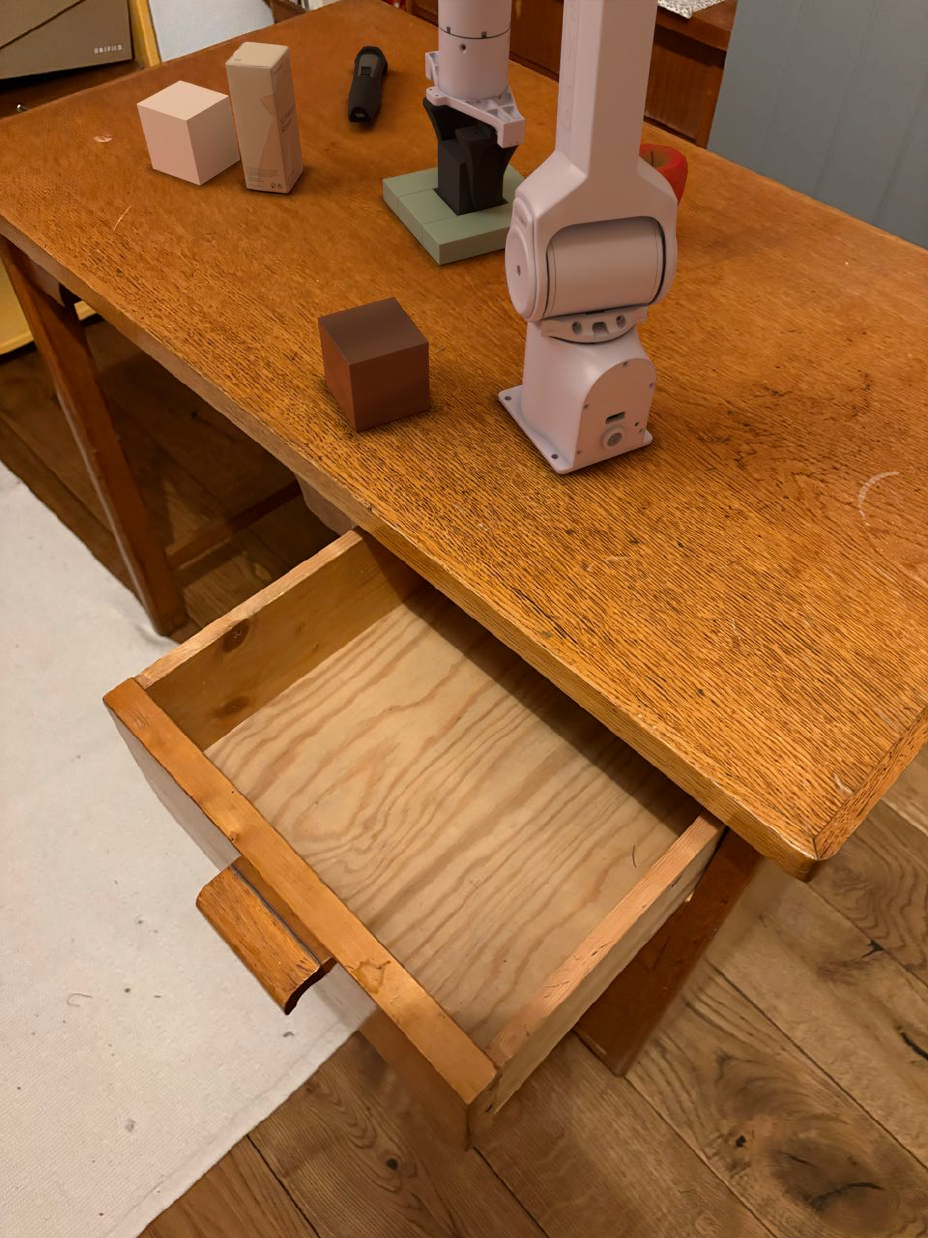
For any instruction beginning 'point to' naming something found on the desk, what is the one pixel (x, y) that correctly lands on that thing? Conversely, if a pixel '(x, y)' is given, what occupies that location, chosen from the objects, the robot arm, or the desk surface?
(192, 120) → the pale pink cube
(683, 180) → the apple
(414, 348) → the cube
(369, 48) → the electric trimmer
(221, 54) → the desk surface
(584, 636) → the desk surface
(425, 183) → the square frame
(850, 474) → the desk surface
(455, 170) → the black block
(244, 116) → the box
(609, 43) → the robot arm
